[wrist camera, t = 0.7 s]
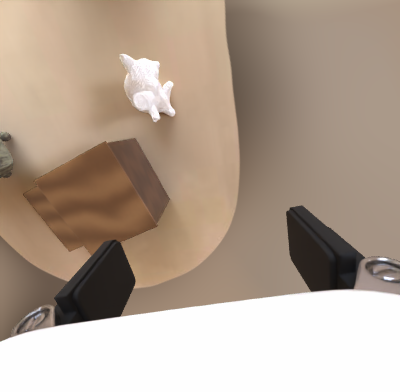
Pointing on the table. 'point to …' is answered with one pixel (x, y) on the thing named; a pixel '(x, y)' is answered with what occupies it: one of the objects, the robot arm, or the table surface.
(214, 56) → the table surface
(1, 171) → the spike-topped wooden block
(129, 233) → the step shelf
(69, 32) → the table surface
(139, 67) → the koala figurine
